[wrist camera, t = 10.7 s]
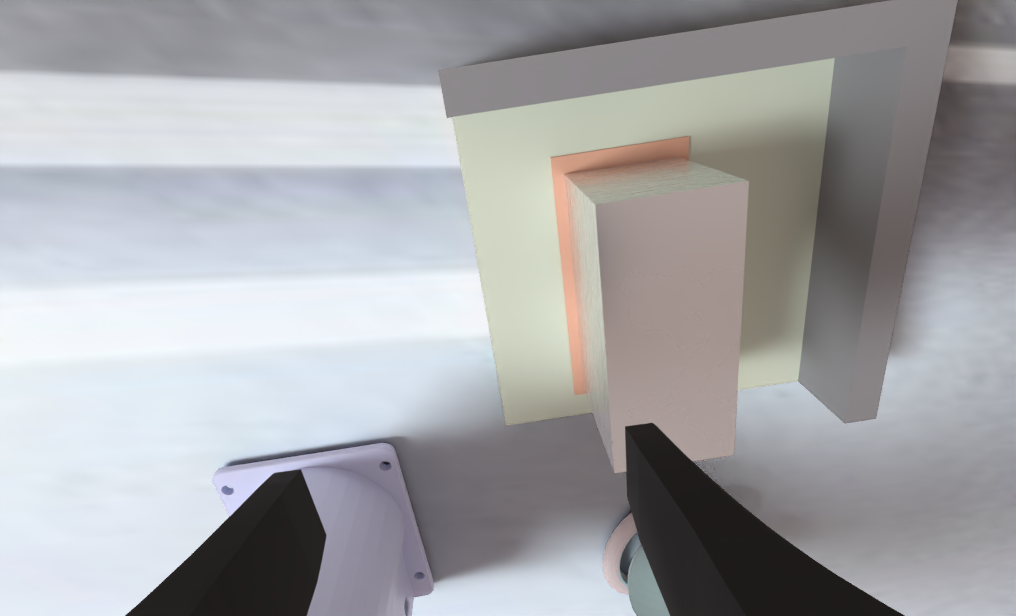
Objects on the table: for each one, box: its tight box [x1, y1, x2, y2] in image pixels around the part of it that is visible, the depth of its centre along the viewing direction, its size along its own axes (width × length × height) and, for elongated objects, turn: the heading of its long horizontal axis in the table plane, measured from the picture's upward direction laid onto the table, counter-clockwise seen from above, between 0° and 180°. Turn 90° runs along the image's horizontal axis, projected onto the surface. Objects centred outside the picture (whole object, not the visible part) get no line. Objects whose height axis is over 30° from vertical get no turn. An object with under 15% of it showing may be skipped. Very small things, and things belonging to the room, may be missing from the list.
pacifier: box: [602, 512, 670, 616], centre depth 23 cm, size 7×6×6 cm
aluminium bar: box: [564, 156, 749, 474], centre depth 17 cm, size 9×4×5 cm, turn 8°
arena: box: [438, 0, 958, 426], centre depth 18 cm, size 14×14×3 cm
